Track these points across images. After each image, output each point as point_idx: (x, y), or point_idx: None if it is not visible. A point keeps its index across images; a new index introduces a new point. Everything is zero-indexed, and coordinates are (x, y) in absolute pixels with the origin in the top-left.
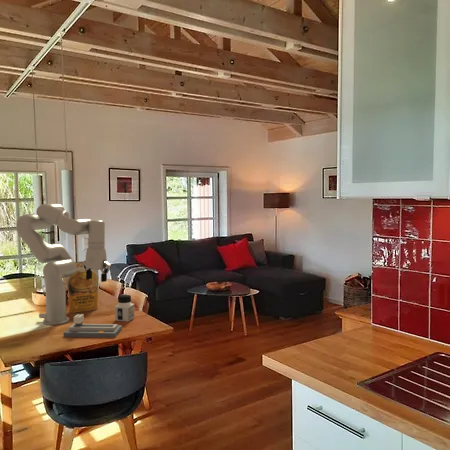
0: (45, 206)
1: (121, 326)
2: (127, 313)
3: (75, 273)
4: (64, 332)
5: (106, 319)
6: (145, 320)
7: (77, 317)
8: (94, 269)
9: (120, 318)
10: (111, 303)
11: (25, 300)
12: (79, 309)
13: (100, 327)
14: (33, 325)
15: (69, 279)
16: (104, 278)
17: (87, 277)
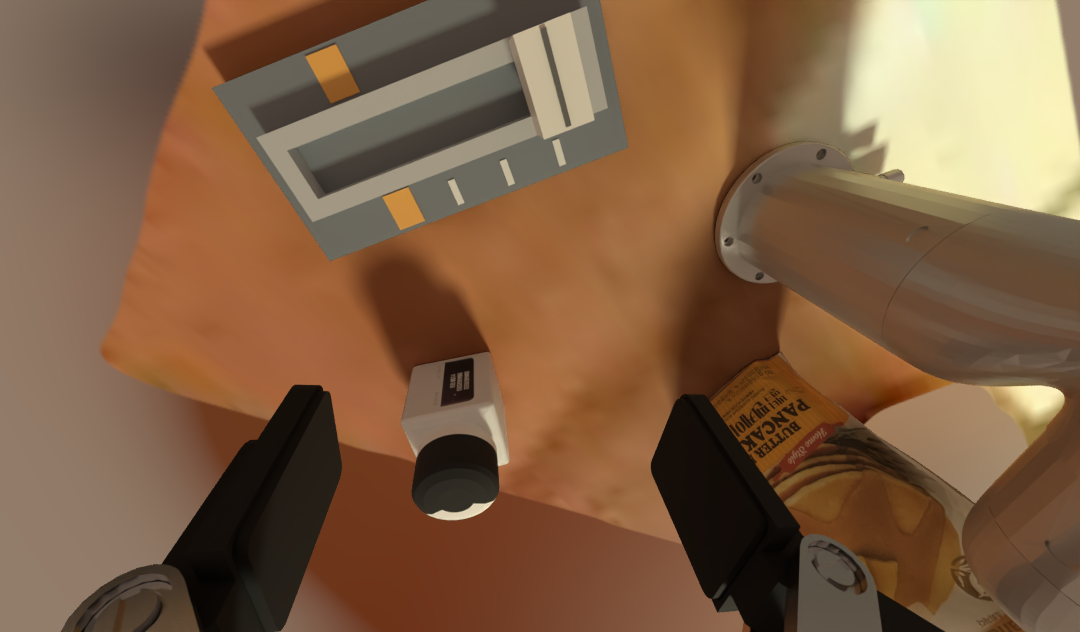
0: None
1: (323, 248)
2: (410, 393)
3: (944, 576)
4: None
5: (544, 348)
6: (347, 410)
7: (535, 27)
8: None
9: (456, 364)
10: (659, 504)
11: (1027, 400)
12: (740, 385)
13: (358, 103)
14: (884, 104)
15: (943, 509)
16: (230, 464)
17: (694, 420)
